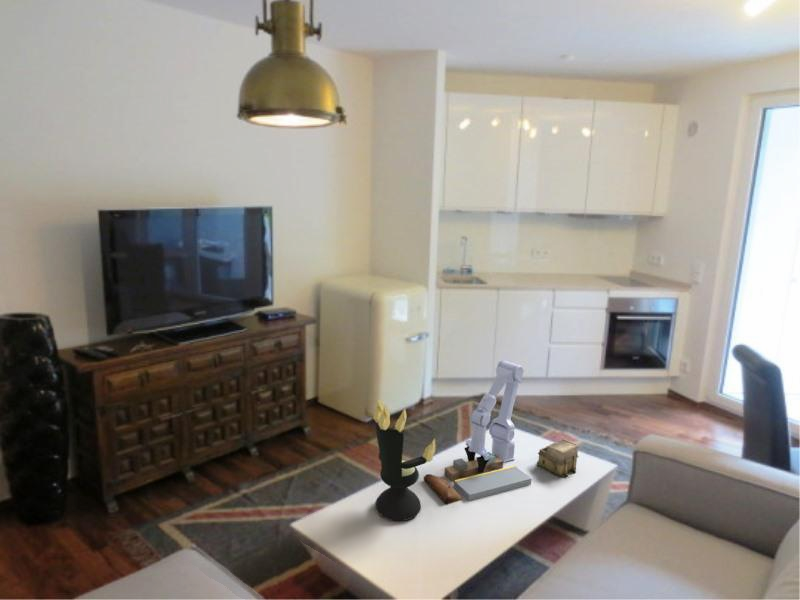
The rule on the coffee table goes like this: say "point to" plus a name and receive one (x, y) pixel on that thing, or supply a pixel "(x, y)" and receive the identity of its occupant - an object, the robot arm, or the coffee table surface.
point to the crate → (460, 464)
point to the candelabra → (397, 468)
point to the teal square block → (491, 458)
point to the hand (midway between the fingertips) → (475, 467)
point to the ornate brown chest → (559, 458)
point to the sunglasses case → (442, 488)
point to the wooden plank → (471, 469)
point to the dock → (491, 482)
